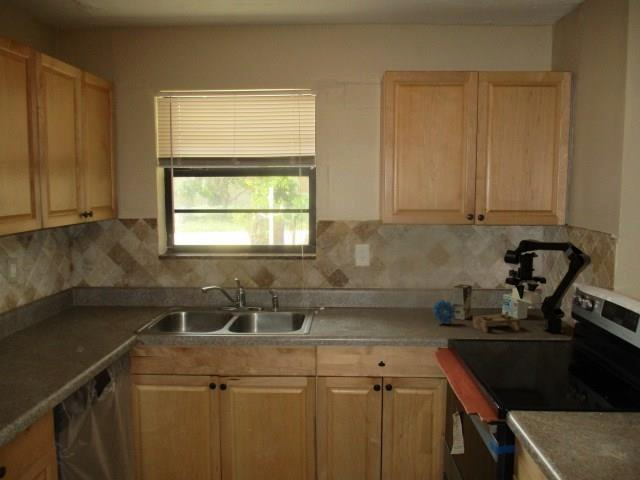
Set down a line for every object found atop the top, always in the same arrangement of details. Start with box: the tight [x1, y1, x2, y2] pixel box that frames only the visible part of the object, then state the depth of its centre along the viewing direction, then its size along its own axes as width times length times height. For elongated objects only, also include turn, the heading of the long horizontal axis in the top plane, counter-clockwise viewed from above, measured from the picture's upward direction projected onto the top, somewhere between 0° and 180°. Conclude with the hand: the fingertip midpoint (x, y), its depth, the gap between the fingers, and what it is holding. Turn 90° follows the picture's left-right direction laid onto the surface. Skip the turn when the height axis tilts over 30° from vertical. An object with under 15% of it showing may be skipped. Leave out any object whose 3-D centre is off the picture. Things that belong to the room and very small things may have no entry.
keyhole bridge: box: [472, 313, 521, 333], centre depth 245 cm, size 11×18×5 cm, turn 105°
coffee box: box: [452, 284, 473, 321], centre depth 264 cm, size 9×6×16 cm
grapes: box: [431, 299, 456, 325], centre depth 251 cm, size 12×7×12 cm, turn 97°
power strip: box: [511, 287, 540, 310], centre depth 249 cm, size 4×14×7 cm, turn 15°
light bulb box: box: [501, 293, 529, 320], centre depth 267 cm, size 11×7×11 cm, turn 25°
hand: (525, 298), depth 249 cm, fingers closed on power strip, 4 cm apart
